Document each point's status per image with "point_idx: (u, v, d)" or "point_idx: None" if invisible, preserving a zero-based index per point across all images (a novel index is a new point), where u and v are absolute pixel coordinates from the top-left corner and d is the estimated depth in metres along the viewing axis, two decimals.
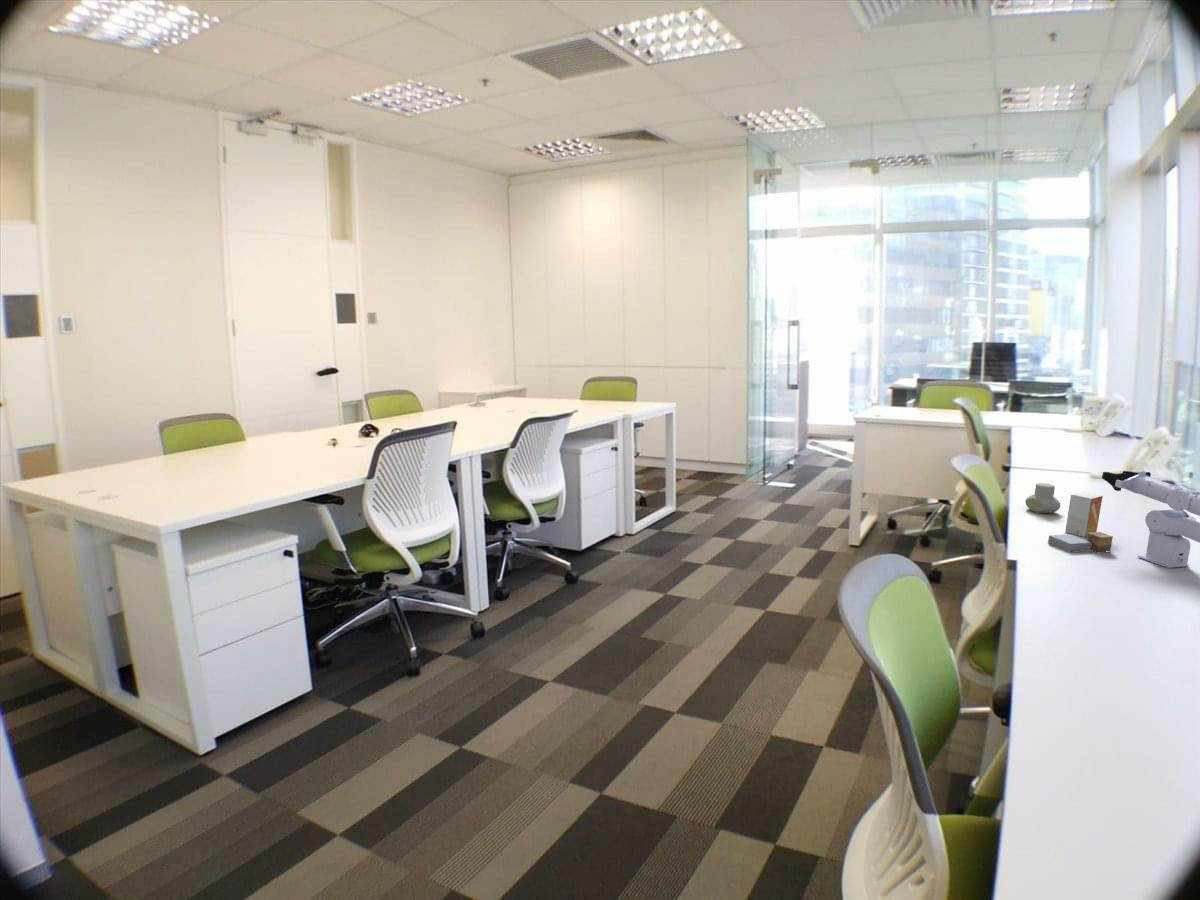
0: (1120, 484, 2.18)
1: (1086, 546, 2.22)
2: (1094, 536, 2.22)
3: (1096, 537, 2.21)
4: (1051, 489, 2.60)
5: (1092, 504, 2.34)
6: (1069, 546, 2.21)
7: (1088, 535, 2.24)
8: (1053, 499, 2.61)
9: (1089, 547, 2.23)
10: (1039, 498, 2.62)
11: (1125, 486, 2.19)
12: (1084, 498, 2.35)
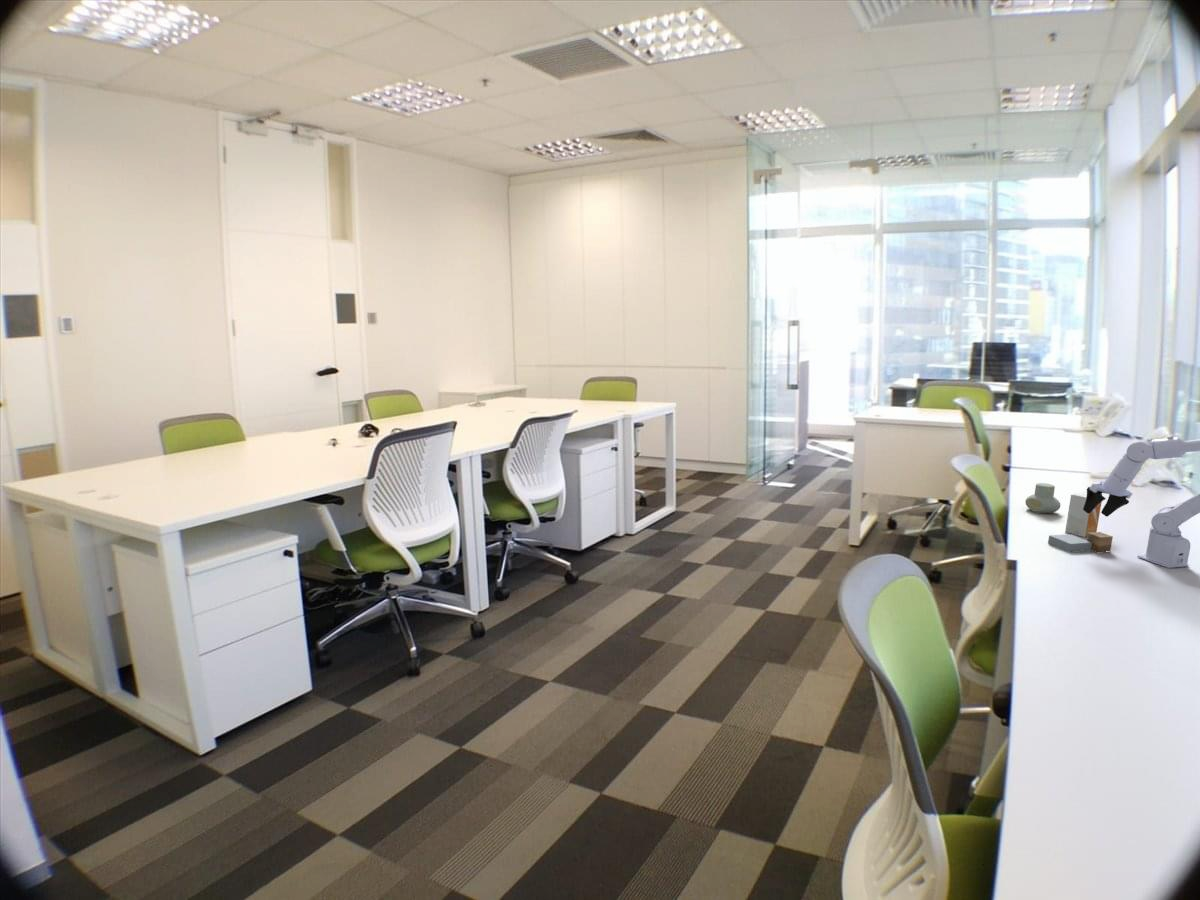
0: (1094, 485, 2.19)
1: (1086, 546, 2.22)
2: (1094, 536, 2.22)
3: (1096, 537, 2.21)
4: (1051, 489, 2.60)
5: None
6: (1069, 546, 2.21)
7: (1088, 535, 2.24)
8: (1053, 499, 2.61)
9: (1089, 547, 2.23)
10: (1039, 498, 2.62)
11: None
12: (1084, 498, 2.35)
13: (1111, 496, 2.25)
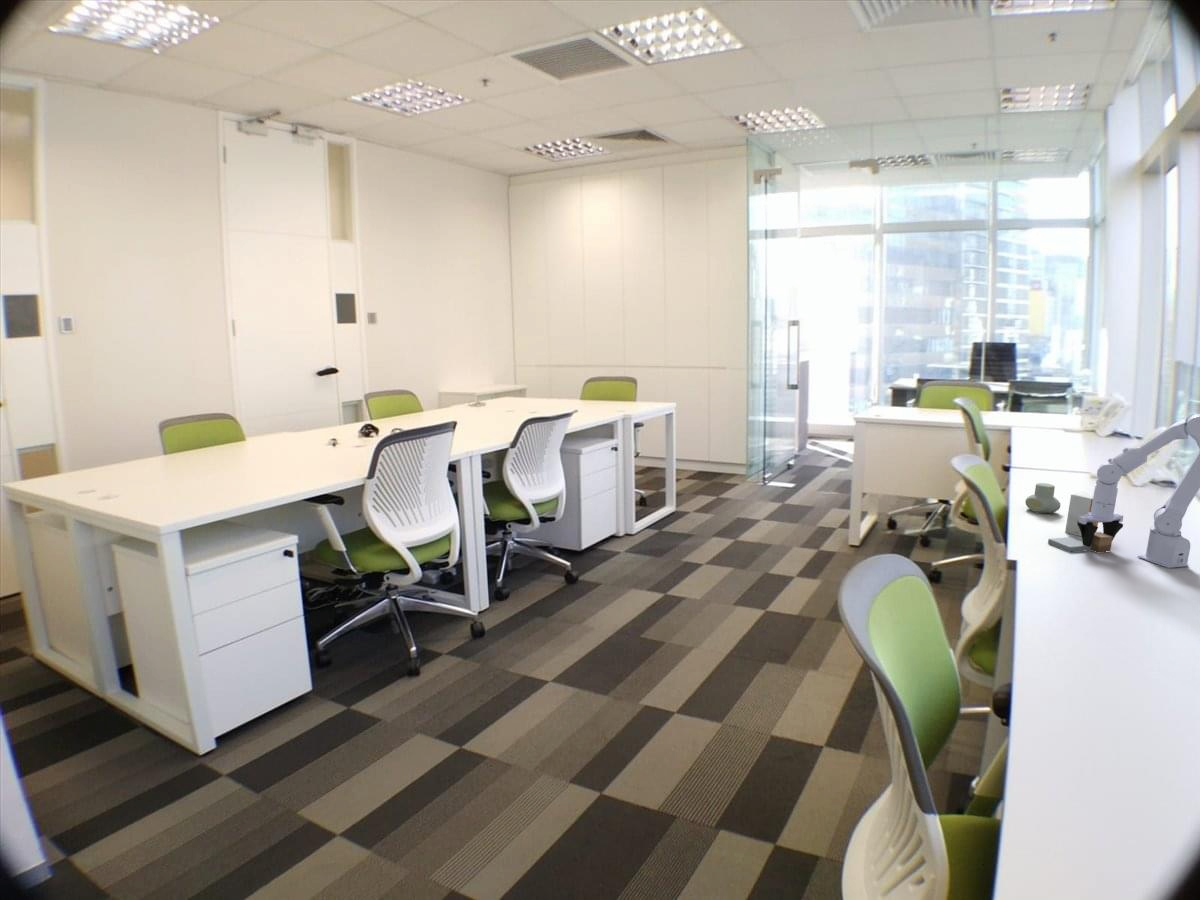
0: (1081, 517, 2.20)
1: (1085, 548, 2.22)
2: (1094, 536, 2.22)
3: (1096, 537, 2.21)
4: (1051, 489, 2.60)
5: None
6: (1068, 549, 2.21)
7: None
8: (1053, 499, 2.61)
9: None
10: (1039, 498, 2.62)
11: None
12: (1084, 498, 2.35)
13: (1105, 524, 2.24)
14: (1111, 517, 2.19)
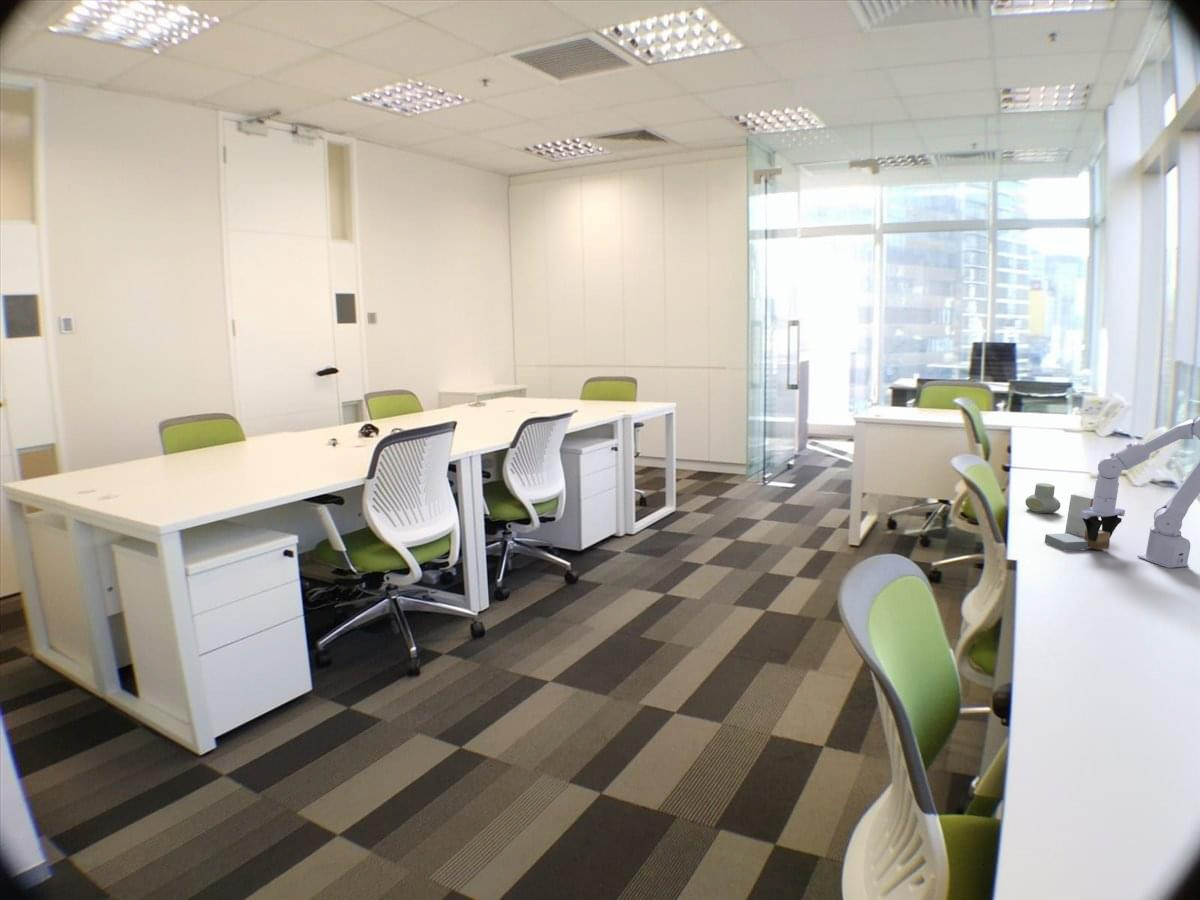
0: (1083, 512, 2.19)
1: (1082, 544, 2.23)
2: None
3: None
4: (1051, 489, 2.60)
5: (1092, 504, 2.34)
6: (1064, 545, 2.22)
7: (1086, 532, 2.24)
8: (1053, 499, 2.61)
9: (1085, 546, 2.23)
10: (1039, 498, 2.62)
11: None
12: (1084, 498, 2.35)
13: (1103, 519, 2.24)
14: (1113, 511, 2.18)
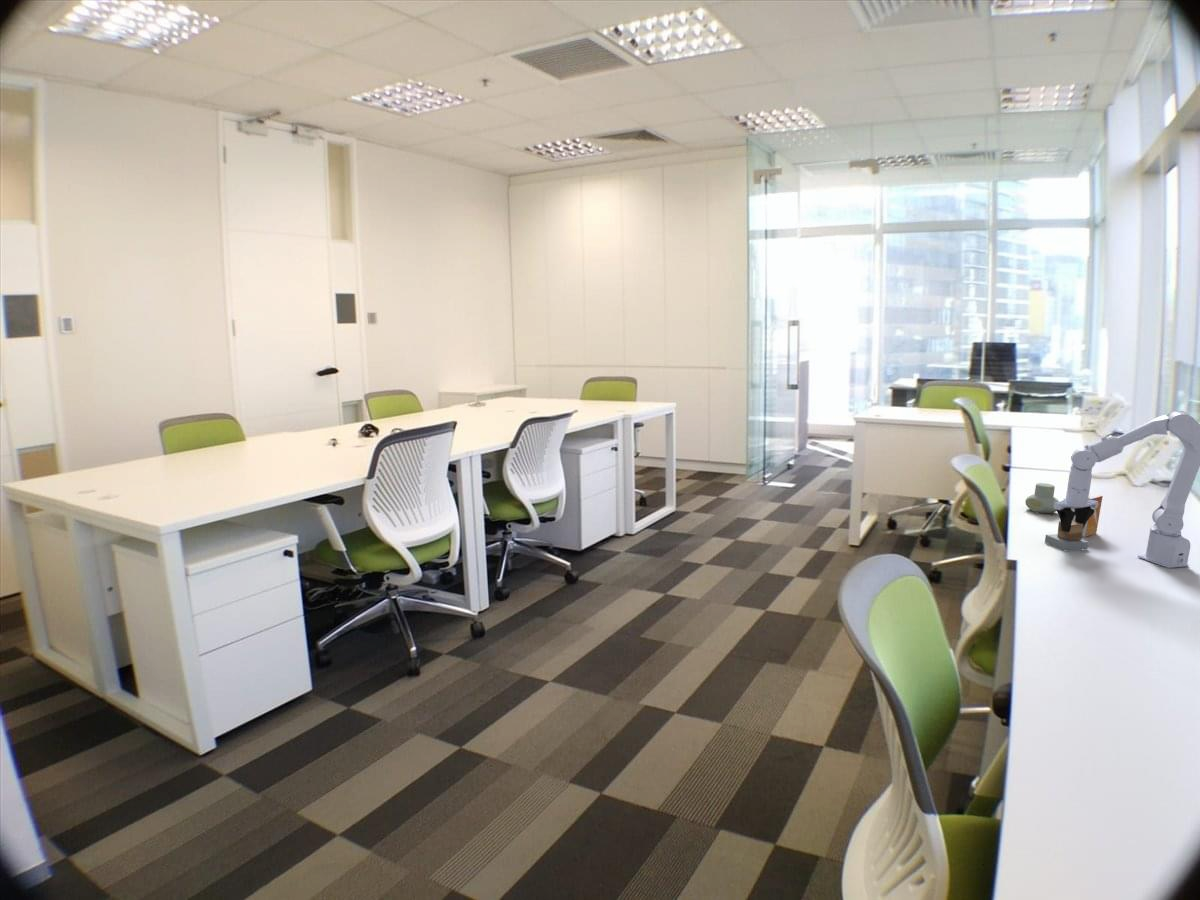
0: (1056, 503, 2.21)
1: (1082, 545, 2.23)
2: None
3: None
4: (1051, 489, 2.60)
5: None
6: (1064, 545, 2.22)
7: (1059, 523, 2.27)
8: (1053, 499, 2.61)
9: (1085, 546, 2.23)
10: (1039, 498, 2.62)
11: None
12: None
13: (1076, 510, 2.26)
14: (1086, 503, 2.21)
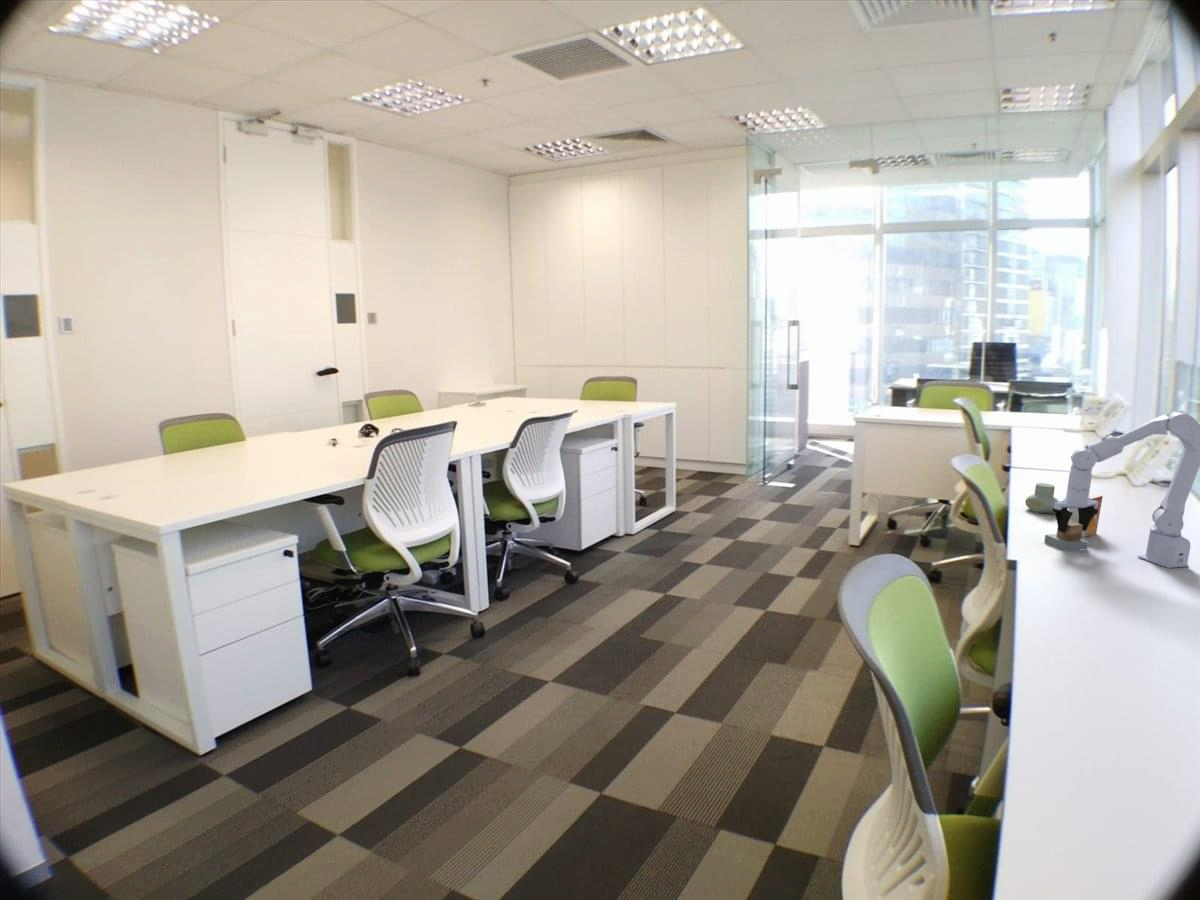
0: (1056, 503, 2.21)
1: (1081, 545, 2.23)
2: None
3: None
4: (1051, 489, 2.60)
5: None
6: (1064, 545, 2.22)
7: None
8: (1053, 499, 2.61)
9: (1085, 546, 2.23)
10: (1039, 498, 2.62)
11: None
12: None
13: (1080, 510, 2.26)
14: (1086, 503, 2.21)
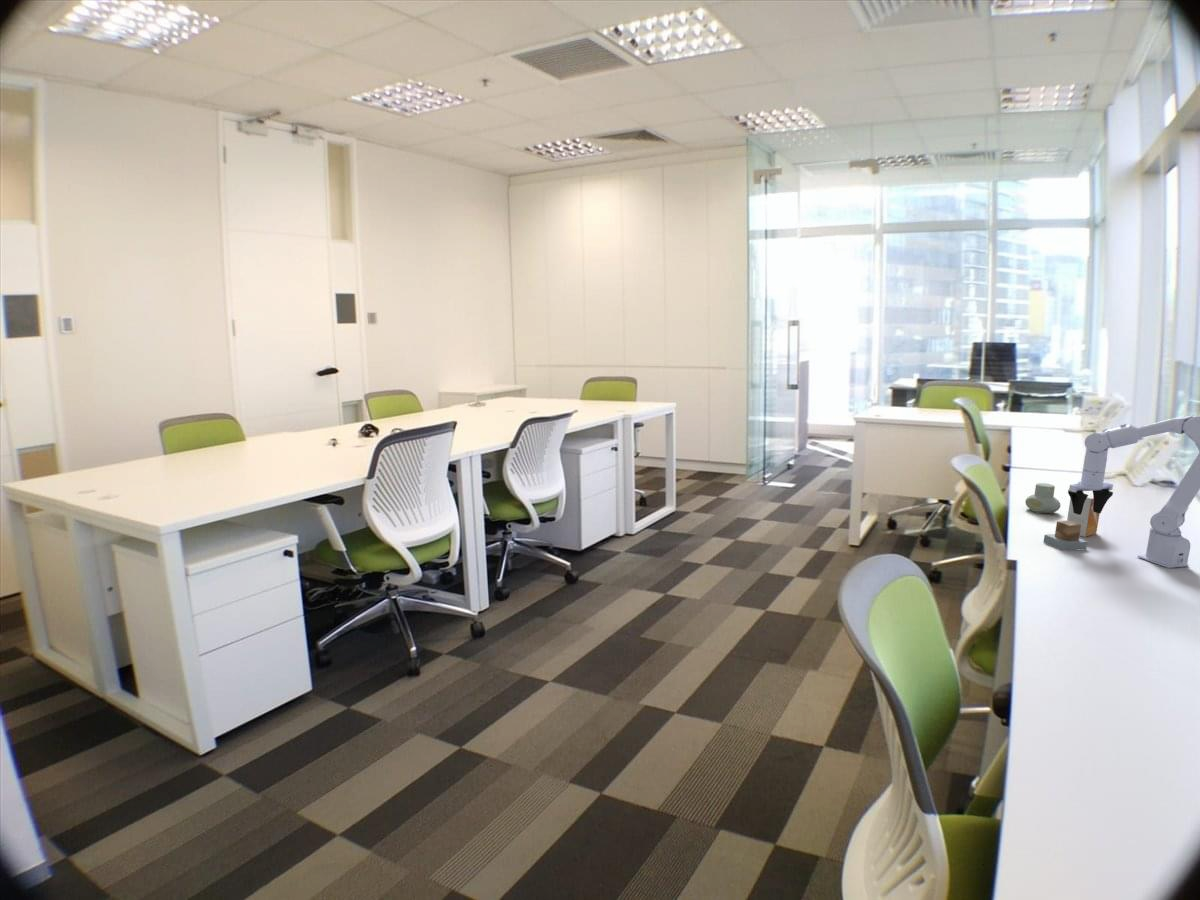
0: (1072, 486, 2.24)
1: (1081, 545, 2.23)
2: (1063, 524, 2.25)
3: (1065, 525, 2.24)
4: (1051, 489, 2.60)
5: (1092, 504, 2.34)
6: (1063, 545, 2.22)
7: (1057, 523, 2.27)
8: (1053, 499, 2.61)
9: (1084, 546, 2.23)
10: (1039, 498, 2.62)
11: None
12: None
13: (1095, 493, 2.29)
14: (1101, 485, 2.23)
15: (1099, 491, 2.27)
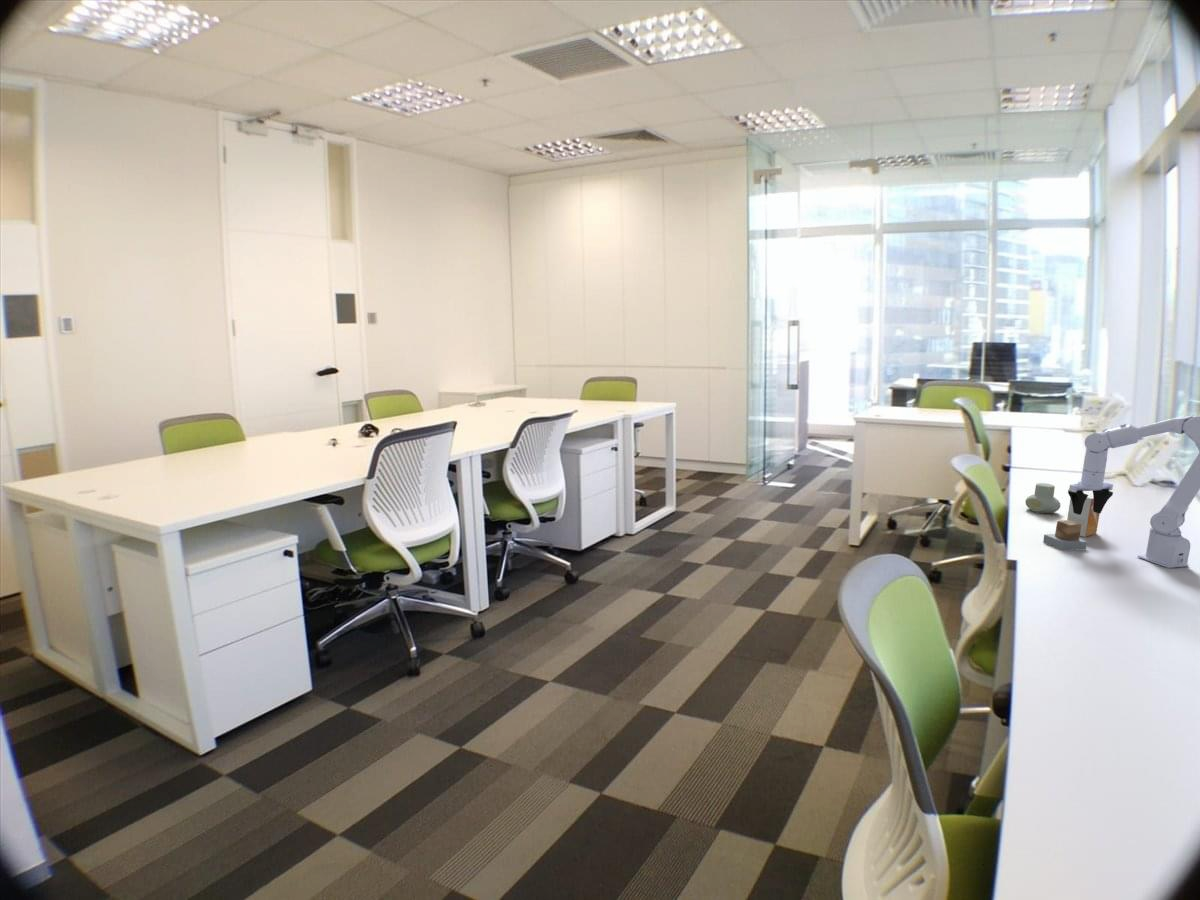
0: (1072, 486, 2.24)
1: (1080, 545, 2.23)
2: (1063, 524, 2.25)
3: (1065, 525, 2.24)
4: (1051, 489, 2.60)
5: (1092, 504, 2.34)
6: (1063, 545, 2.22)
7: (1058, 523, 2.27)
8: (1053, 499, 2.61)
9: (1084, 546, 2.24)
10: (1039, 498, 2.62)
11: None
12: None
13: (1095, 493, 2.29)
14: (1101, 485, 2.23)
15: (1099, 491, 2.27)
